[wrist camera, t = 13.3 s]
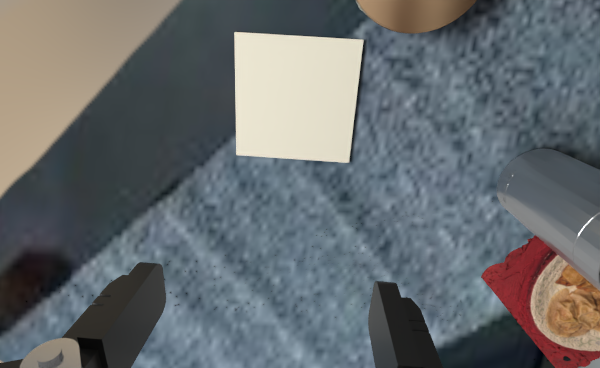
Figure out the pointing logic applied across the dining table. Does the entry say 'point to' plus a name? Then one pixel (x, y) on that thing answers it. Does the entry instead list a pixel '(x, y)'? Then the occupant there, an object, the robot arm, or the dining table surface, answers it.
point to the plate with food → (549, 303)
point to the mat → (296, 96)
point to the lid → (414, 13)
